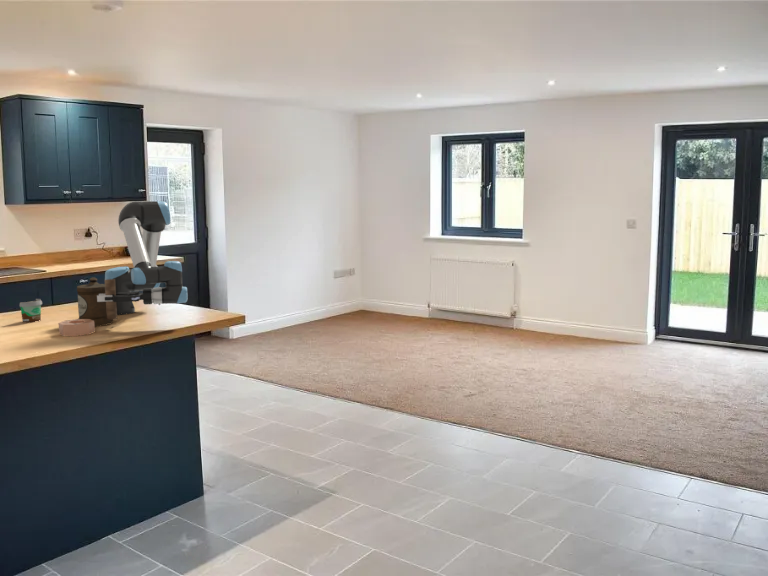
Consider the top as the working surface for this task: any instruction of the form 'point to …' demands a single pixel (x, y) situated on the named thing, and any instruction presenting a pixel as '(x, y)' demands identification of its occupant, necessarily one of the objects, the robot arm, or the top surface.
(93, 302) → the wooden container
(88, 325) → the terracotta bead
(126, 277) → the robot arm
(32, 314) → the food container
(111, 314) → the walnut dowel
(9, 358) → the top surface
